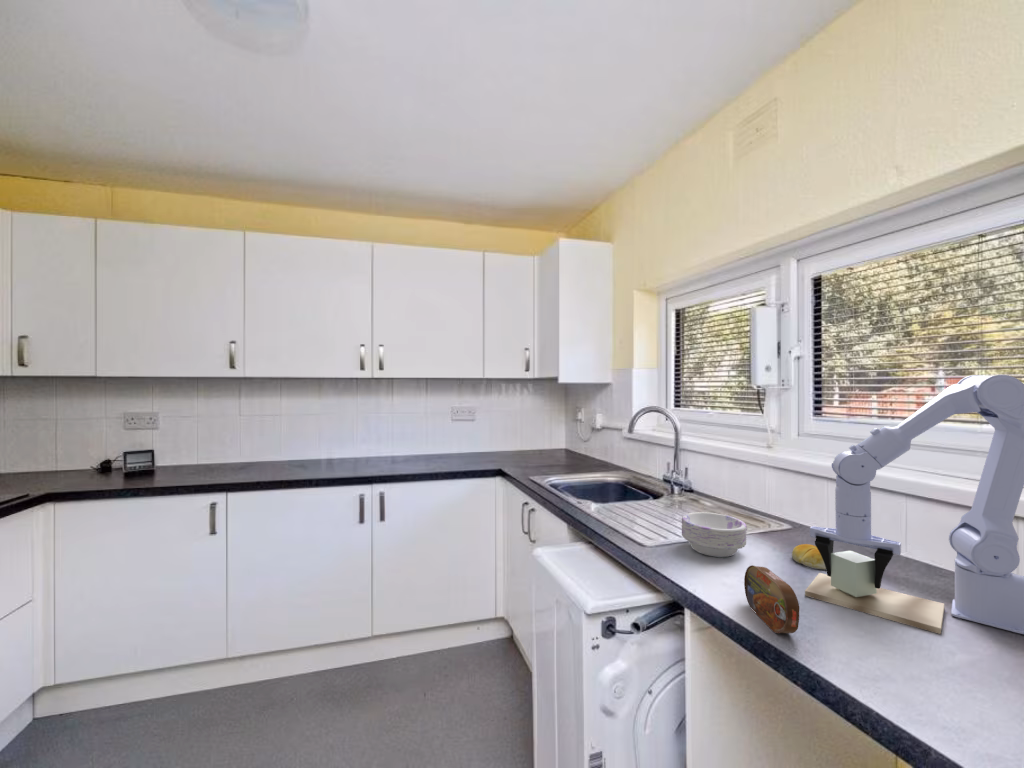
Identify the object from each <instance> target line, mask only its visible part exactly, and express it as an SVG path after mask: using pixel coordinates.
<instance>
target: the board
mask: <svg viewBox="0 0 1024 768" xmlns="http://www.w3.org/2000/svg"><path fill="white" fill-rule="evenodd" d="M804 596H805V597H808V598H812V599H816V600H819V601H822V602H827V603H830V604H833V605H836V606H840V607H843V608H846V609H851V610H855V611H857V612H861V613H865V614H869V615H871V616H874V617H875V616H876V617H880V618H883V619H886V620H890V621H893V622H897V623H900V624H904V625H908V626H911V627H914V628H918V629H920V630H924V631H925V630H926V631H929V632H932V633H936V634H938V635H941V634H942V629H943V621H944V614H945V613H944V612H945V603H944V602H943V603H942V602H939V601H934V600H931V599H927V598H923V597H920V596H916V595H911V594H908V593H907V594H906V593H902V592H899V591H894V590H890V589H886V588H884V587H880V589H878V588H877V593H876V594H871V595H866V596H860V597H855V596H853V595H850V594H848V593H846V592H844V591H842V590H840V589H837V588H835V587H833V586H831V577H830V576H827V573H821V572H818V574H817V575H816V576H815V578H814V579H813V580H812V582H811V583H810V584H809V585H808V586H807V588H806V589H805V590H804Z"/></svg>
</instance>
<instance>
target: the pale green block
mask: <svg viewBox="0 0 1024 768" xmlns="http://www.w3.org/2000/svg"><path fill="white" fill-rule="evenodd" d="M831 586H833V587H835V588H837V589H840V590H842V591H844V592H846V593H848V594H850V595H853V596H855V597H860V596H866V595H871V594H876V593H877V588H875V558H872V557H869V556H866V555H864V554H861V553H858V552H856V551H853V550H845V551H844V550H843V551H837V552H833V553H831Z"/></svg>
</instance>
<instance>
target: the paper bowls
mask: <svg viewBox="0 0 1024 768" xmlns="http://www.w3.org/2000/svg"><path fill="white" fill-rule="evenodd" d="M747 529H748V527H747V524H746V523H745V521H743V520H741V519H739V518H737V517H734V516H730V515H727V514H722V513H716V512H706V511H704V512H703V511H699V512H698V511H697V512H690V513H689V512H688V513H685V514H684V515H682V518H681V536H682V538H683V539H684V540H685V541H687V542H689V544H690V546H691V548H692V549H693V550H694V551H695V552H697V553H699V554H702V555H705V556H708V557H714V558H715V557H716V558H727V557H728V558H729V557H731V556H734V555H735V554H736V553H737V551H738V550H739V549H743V548H745V547H746V545H747V534H748V533H747Z"/></svg>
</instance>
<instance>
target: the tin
mask: <svg viewBox="0 0 1024 768" xmlns="http://www.w3.org/2000/svg"><path fill="white" fill-rule="evenodd" d="M743 581H744V582H743V583H744V584H743V585H744V593H745V599H746V600H747V601H746V602H747V605H749V606H748V607H751V608H752V609H753V610H754V611H755V612H756V613H755V612H754V611H753V610H752V609H751V608H750V609H751V610H752V611H753V612H754V613H755V615H756V616H757V617H759V618H760V619H761V620H762V621H763V623H764V624H765V623H766V624H765V625H766V626H767V627H768V628H769V629H770V630H771V631H772V632H773V633H775V634H793V633H796V632H797V631H798V630H799V624H800V603H799V600H798V596H797V595H796V591H794V589H793V588H792V587H791V585H789V583H787V582H786V581H785V580H783V579H782V578H781V577H779V576H778V575H777V574H776V573H774V572H773V571H772V570H770V569H769V568H767V567H766V566H757V565H749V566H748V567H747V568H746V570H745V573H744V579H743Z"/></svg>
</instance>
